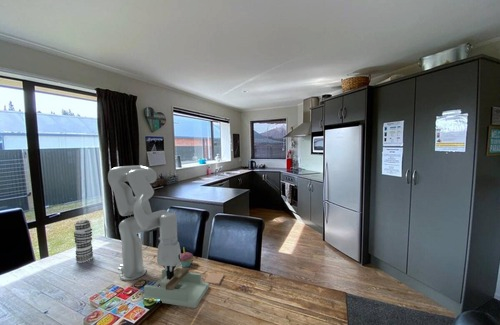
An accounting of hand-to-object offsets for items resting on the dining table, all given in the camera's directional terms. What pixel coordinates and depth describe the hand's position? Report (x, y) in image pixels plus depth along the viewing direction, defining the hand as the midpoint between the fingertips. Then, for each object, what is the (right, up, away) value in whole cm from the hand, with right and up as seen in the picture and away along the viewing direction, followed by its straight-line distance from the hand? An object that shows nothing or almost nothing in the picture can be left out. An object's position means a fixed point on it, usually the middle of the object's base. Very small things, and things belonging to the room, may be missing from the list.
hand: (170, 277), depth 99 cm
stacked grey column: (-67, -7, +33) cm, 75 cm away
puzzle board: (+3, -8, 0) cm, 8 cm away
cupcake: (0, -7, +25) cm, 26 cm away
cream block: (-2, -7, +1) cm, 7 cm away
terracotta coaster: (+19, -7, +11) cm, 23 cm away
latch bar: (+4, -1, -1) cm, 4 cm away
